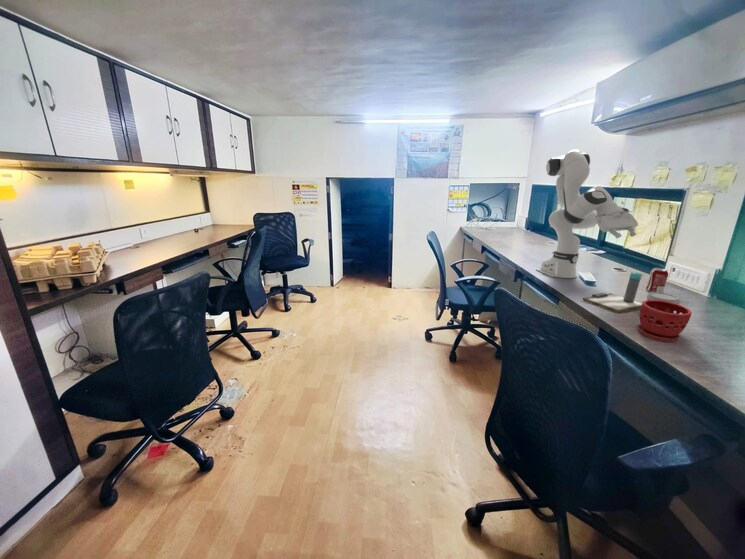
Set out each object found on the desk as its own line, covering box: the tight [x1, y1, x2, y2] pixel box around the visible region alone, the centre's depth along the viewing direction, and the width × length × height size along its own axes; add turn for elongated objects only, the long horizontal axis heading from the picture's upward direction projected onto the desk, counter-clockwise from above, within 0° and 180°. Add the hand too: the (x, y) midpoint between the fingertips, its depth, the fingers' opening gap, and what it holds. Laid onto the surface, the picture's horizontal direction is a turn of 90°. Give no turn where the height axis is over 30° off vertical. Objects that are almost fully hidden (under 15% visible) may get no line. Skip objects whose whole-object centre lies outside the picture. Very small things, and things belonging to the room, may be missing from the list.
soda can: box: [645, 267, 669, 293], centre depth 158 cm, size 7×7×12 cm
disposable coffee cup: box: [646, 292, 680, 312], centre depth 122 cm, size 10×10×12 cm
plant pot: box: [636, 299, 692, 343], centre depth 112 cm, size 13×13×12 cm
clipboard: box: [582, 292, 643, 314], centre depth 144 cm, size 16×19×2 cm
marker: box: [623, 271, 643, 303], centre depth 141 cm, size 4×4×13 cm
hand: (626, 236), depth 148 cm, fingers open, 8 cm apart
